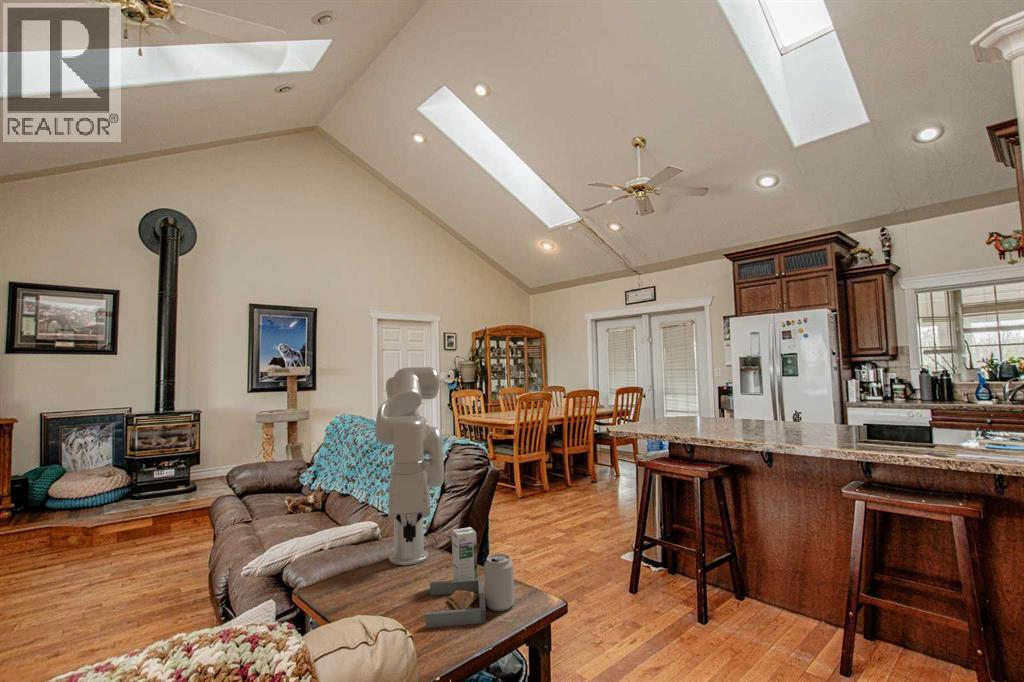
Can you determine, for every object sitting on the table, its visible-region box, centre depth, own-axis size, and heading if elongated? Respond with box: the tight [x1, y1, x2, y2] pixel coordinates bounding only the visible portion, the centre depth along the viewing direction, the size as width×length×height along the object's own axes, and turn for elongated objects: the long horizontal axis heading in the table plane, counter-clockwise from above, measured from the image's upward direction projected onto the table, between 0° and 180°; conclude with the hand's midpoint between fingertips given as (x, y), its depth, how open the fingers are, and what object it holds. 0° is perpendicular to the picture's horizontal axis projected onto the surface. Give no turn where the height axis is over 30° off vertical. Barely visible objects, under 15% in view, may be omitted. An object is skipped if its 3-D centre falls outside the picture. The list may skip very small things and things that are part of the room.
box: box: [424, 577, 487, 629], centre depth 123 cm, size 18×14×3 cm
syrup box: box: [451, 526, 479, 580], centre depth 139 cm, size 6×6×14 cm
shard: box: [446, 590, 479, 610], centre depth 124 cm, size 11×8×2 cm
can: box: [483, 553, 515, 612], centre depth 124 cm, size 8×8×12 cm
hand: (409, 540), depth 124 cm, fingers closed
